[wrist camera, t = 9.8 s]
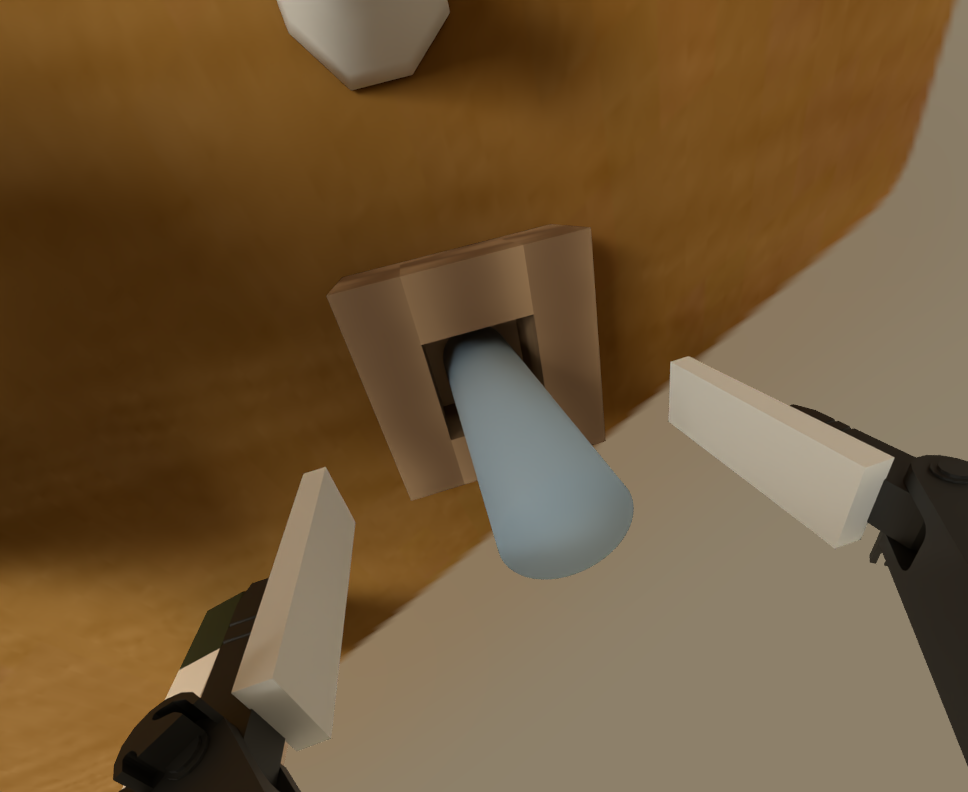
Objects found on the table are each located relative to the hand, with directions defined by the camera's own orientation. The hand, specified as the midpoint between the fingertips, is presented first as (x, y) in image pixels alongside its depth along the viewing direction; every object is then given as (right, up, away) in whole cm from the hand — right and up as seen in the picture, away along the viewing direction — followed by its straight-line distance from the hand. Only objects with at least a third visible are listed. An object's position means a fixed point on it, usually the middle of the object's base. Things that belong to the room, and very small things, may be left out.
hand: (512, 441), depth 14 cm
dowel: (-2, +4, +9) cm, 10 cm away
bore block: (-2, +5, +10) cm, 11 cm away
